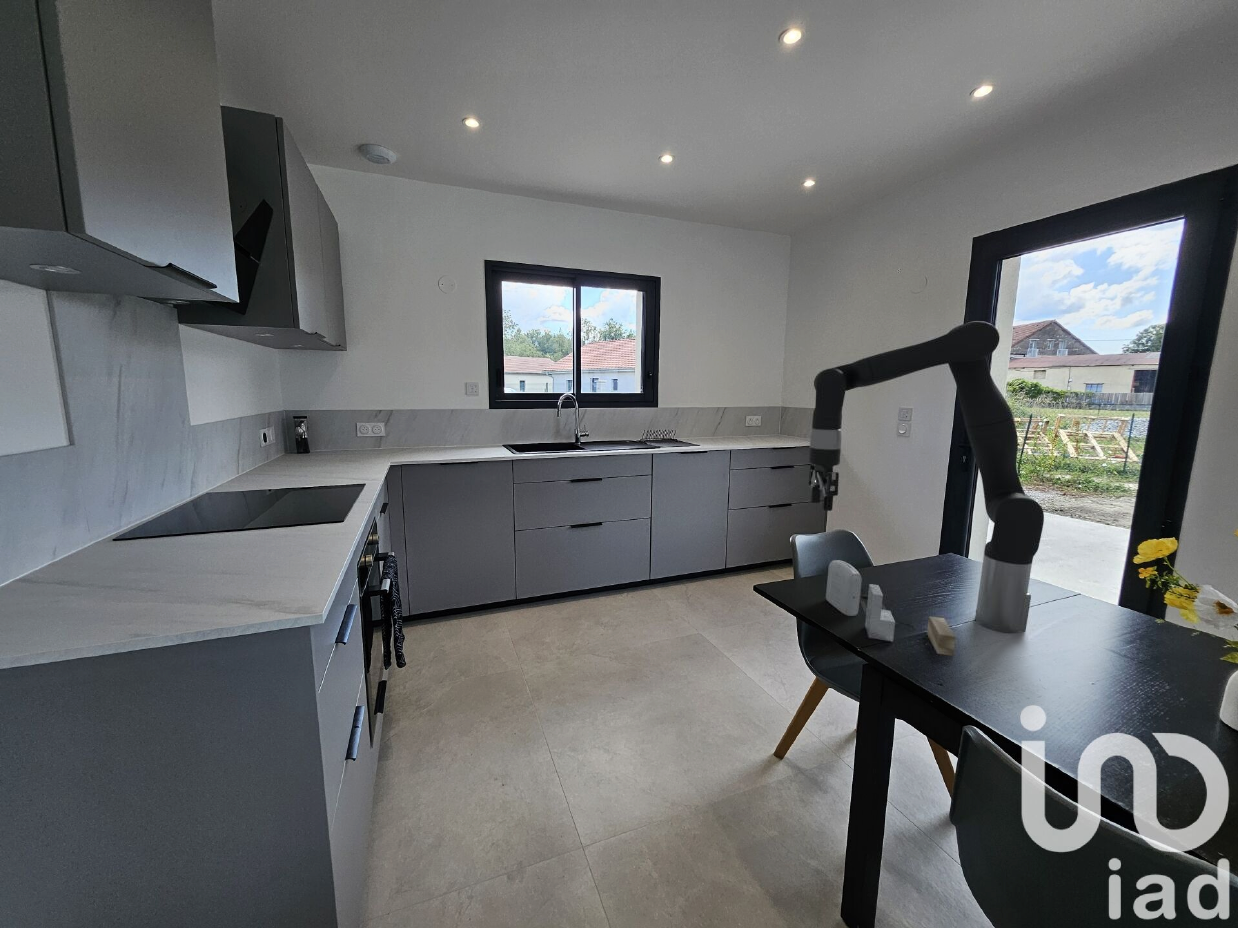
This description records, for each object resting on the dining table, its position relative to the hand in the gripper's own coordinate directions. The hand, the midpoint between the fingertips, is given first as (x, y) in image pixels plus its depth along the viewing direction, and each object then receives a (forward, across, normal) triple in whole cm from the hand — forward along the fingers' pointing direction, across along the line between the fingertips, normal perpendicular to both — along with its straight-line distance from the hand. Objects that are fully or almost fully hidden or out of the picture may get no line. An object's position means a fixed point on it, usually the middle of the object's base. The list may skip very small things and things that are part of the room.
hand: (821, 506), depth 129 cm
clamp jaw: (+26, -19, -8) cm, 33 cm away
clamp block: (+27, -22, -20) cm, 40 cm away
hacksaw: (+27, -4, -16) cm, 32 cm away
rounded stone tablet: (+27, -4, -5) cm, 28 cm away
